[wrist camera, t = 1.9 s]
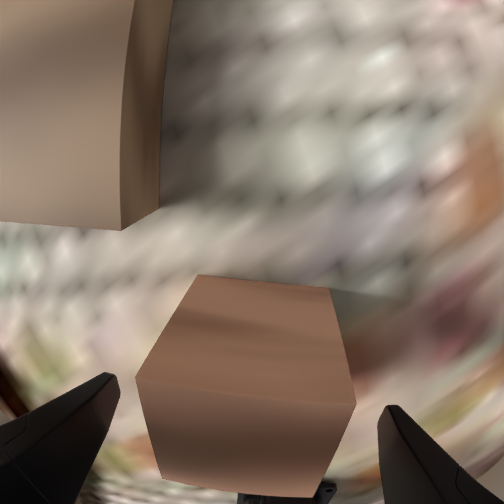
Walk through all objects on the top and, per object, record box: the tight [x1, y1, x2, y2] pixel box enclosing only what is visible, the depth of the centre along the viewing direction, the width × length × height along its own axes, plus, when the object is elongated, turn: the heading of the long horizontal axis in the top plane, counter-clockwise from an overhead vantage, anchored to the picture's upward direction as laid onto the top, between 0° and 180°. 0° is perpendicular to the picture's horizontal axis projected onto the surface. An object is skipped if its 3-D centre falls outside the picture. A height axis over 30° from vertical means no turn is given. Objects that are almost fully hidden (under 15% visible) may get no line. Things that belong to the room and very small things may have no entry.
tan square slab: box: [0, 0, 174, 231], centre depth 9 cm, size 10×10×3 cm
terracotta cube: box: [135, 275, 356, 497], centre depth 10 cm, size 5×5×6 cm
